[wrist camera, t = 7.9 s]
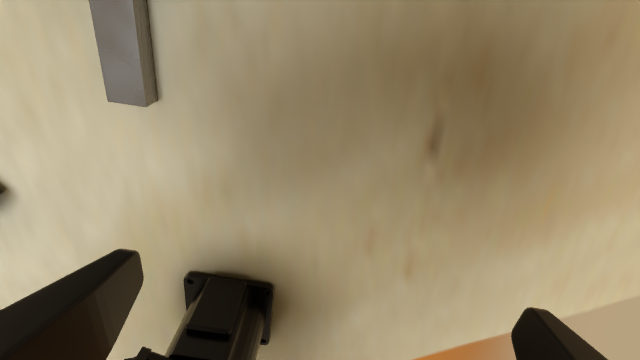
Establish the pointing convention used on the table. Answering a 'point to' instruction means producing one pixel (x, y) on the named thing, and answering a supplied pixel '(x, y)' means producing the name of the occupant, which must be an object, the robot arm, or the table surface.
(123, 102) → the stand
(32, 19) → the table surface
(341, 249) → the table surface
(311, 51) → the table surface
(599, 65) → the table surface
